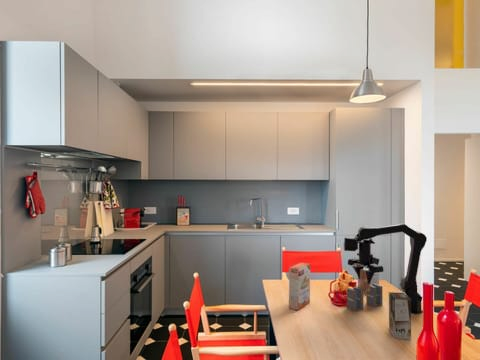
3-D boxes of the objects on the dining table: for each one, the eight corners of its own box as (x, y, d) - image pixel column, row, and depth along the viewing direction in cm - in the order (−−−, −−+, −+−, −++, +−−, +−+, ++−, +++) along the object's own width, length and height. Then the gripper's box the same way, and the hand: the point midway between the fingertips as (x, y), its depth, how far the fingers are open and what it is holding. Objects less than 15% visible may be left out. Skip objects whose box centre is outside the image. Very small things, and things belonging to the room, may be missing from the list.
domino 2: (363, 309, 155) (363, 289, 155) (361, 310, 154) (360, 290, 155) (356, 305, 160) (355, 286, 160) (353, 306, 159) (353, 287, 159)
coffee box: (411, 340, 124) (411, 300, 124) (394, 338, 125) (394, 298, 126) (404, 329, 133) (404, 292, 133) (388, 328, 134) (388, 291, 135)
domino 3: (370, 291, 157) (369, 271, 157) (367, 291, 156) (367, 271, 157) (362, 288, 162) (362, 269, 162) (360, 288, 161) (359, 269, 161)
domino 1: (356, 310, 153) (356, 290, 153) (354, 311, 152) (354, 291, 153) (349, 307, 158) (349, 287, 158) (346, 307, 157) (346, 288, 157)
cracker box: (299, 311, 153) (299, 269, 153) (288, 308, 156) (288, 267, 157) (310, 302, 164) (310, 263, 164) (300, 300, 167) (300, 261, 168)
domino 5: (382, 305, 161) (382, 286, 161) (380, 305, 160) (380, 286, 160) (374, 302, 165) (374, 283, 165) (372, 302, 165) (372, 283, 165)
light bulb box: (357, 286, 190) (357, 269, 191) (365, 285, 193) (365, 268, 194) (371, 292, 181) (371, 273, 181) (379, 290, 184) (379, 272, 184)
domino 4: (376, 306, 159) (376, 287, 159) (374, 307, 158) (373, 287, 158) (368, 303, 163) (368, 284, 164) (366, 303, 163) (366, 284, 163)
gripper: (391, 253, 154) (391, 285, 154) (362, 247, 171) (362, 275, 171) (375, 256, 150) (375, 288, 149) (347, 248, 167) (347, 277, 166)
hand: (364, 281), depth 159 cm, fingers closed on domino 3, 5 cm apart
